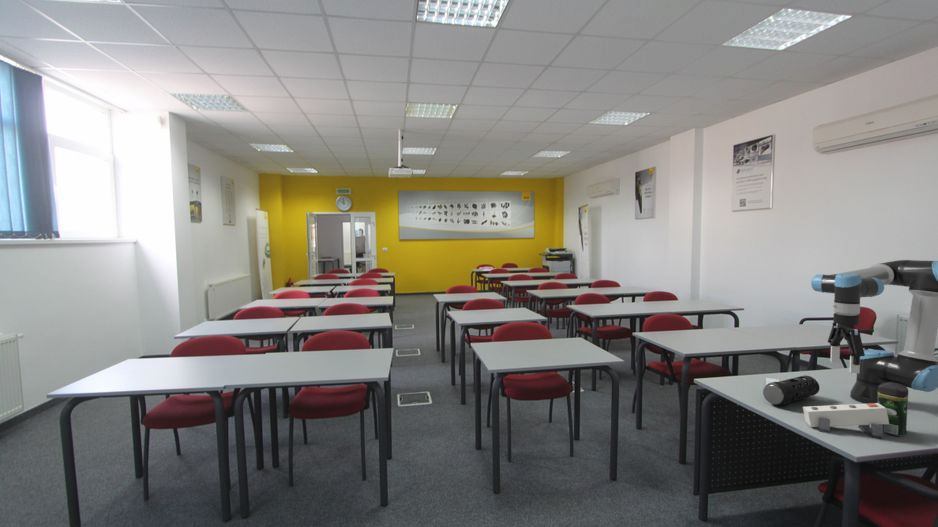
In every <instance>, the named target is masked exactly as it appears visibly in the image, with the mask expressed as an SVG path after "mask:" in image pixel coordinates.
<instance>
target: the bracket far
mask: <svg viewBox="0 0 938 527" xmlns="http://www.w3.org/2000/svg"><path fill="white" fill-rule="evenodd" d="M830 427H831V426H830V419H827V418H819V427H814V428H815V429H816V430H818V431H819V432H822V433H829V434H830Z"/></svg>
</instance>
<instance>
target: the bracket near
mask: <svg viewBox="0 0 938 527" xmlns="http://www.w3.org/2000/svg"><path fill="white" fill-rule="evenodd" d="M857 427H858V428H859V429H860V430H861V431H862V432H864V433H865V434H867V435H868V437H870V436H871V438H872V439H879V440H883V435H884V433H883V425H880V424H871V425H857Z"/></svg>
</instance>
